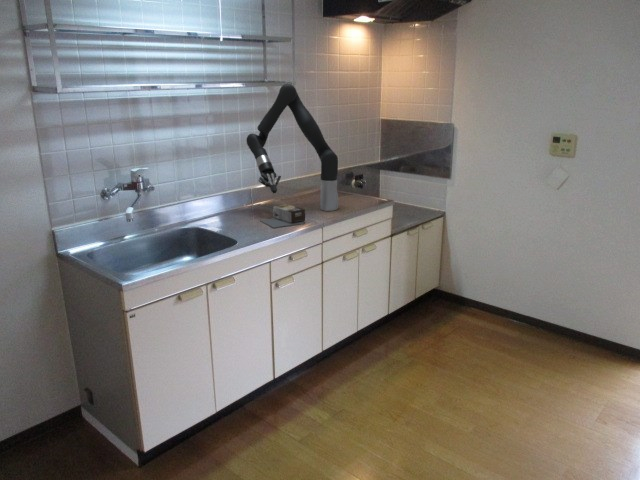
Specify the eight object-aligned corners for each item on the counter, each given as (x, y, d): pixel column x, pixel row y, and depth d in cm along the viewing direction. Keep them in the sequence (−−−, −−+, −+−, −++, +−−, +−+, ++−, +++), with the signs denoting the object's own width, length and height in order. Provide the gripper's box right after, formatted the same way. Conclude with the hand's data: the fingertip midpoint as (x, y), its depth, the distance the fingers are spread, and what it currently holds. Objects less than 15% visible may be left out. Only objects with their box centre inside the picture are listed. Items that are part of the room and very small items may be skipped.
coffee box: (286, 203, 283) (305, 208, 272) (286, 215, 285) (305, 220, 274) (272, 206, 277) (291, 211, 266) (273, 217, 279) (292, 224, 268)
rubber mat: (291, 217, 283) (291, 216, 283) (305, 224, 270) (305, 222, 270) (260, 221, 275) (260, 220, 275) (273, 228, 261) (273, 227, 261)
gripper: (255, 162, 275) (265, 189, 269) (278, 160, 282) (288, 187, 275) (251, 170, 281) (261, 197, 275) (274, 168, 288) (284, 195, 281)
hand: (275, 192), depth 275 cm, fingers closed
